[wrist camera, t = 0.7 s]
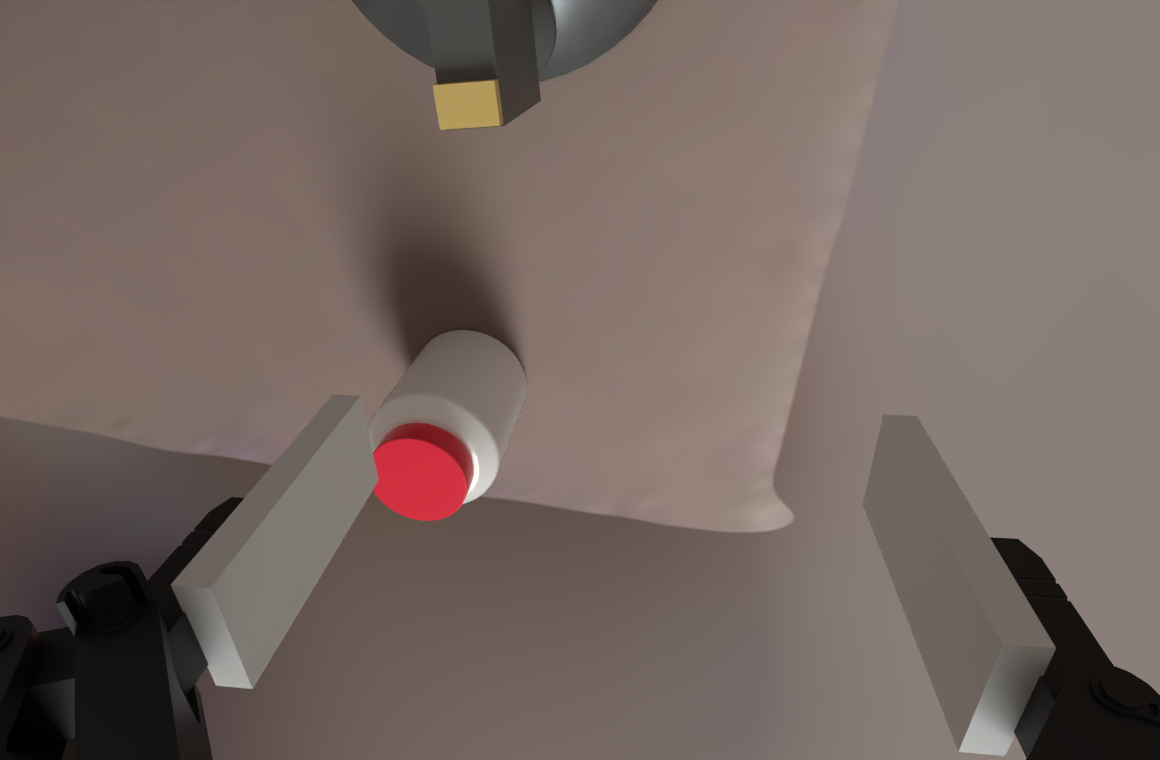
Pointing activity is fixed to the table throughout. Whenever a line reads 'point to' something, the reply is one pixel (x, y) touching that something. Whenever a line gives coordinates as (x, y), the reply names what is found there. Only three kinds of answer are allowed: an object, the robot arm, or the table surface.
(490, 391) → the pill bottle
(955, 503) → the robot arm
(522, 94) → the knob
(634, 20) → the plate
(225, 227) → the table surface
